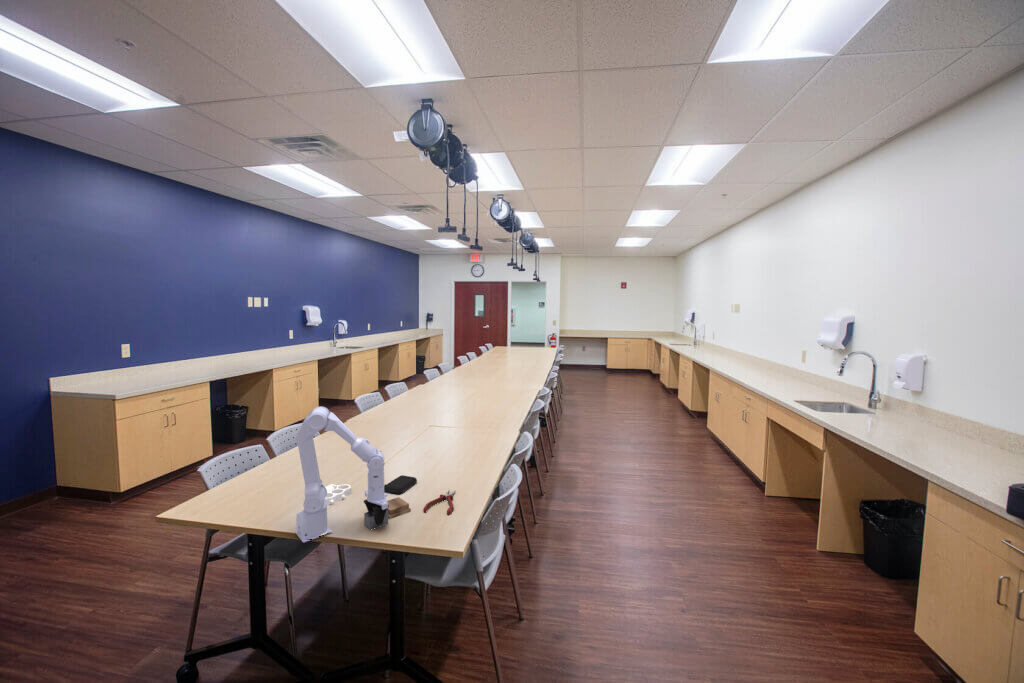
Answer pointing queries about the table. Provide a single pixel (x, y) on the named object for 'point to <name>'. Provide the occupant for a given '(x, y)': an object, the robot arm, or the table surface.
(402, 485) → the carrying case or bag
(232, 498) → the table surface
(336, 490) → the white brass knuckles
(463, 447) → the table surface
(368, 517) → the block
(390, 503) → the stand
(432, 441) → the table surface
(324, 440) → the table surface
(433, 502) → the pliers
